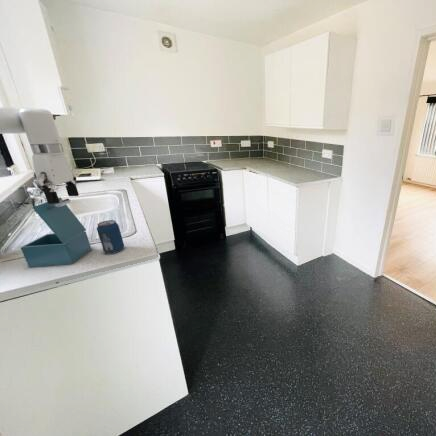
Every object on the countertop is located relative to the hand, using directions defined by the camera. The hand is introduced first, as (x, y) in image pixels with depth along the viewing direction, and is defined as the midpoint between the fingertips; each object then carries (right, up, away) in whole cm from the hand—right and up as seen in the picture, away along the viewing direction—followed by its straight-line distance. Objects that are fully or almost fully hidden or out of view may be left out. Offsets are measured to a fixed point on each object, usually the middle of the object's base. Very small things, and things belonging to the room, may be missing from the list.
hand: (64, 199), depth 87 cm
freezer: (-7, -22, +7) cm, 24 cm away
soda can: (+9, -20, +12) cm, 25 cm away
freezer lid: (-3, -7, +2) cm, 8 cm away
